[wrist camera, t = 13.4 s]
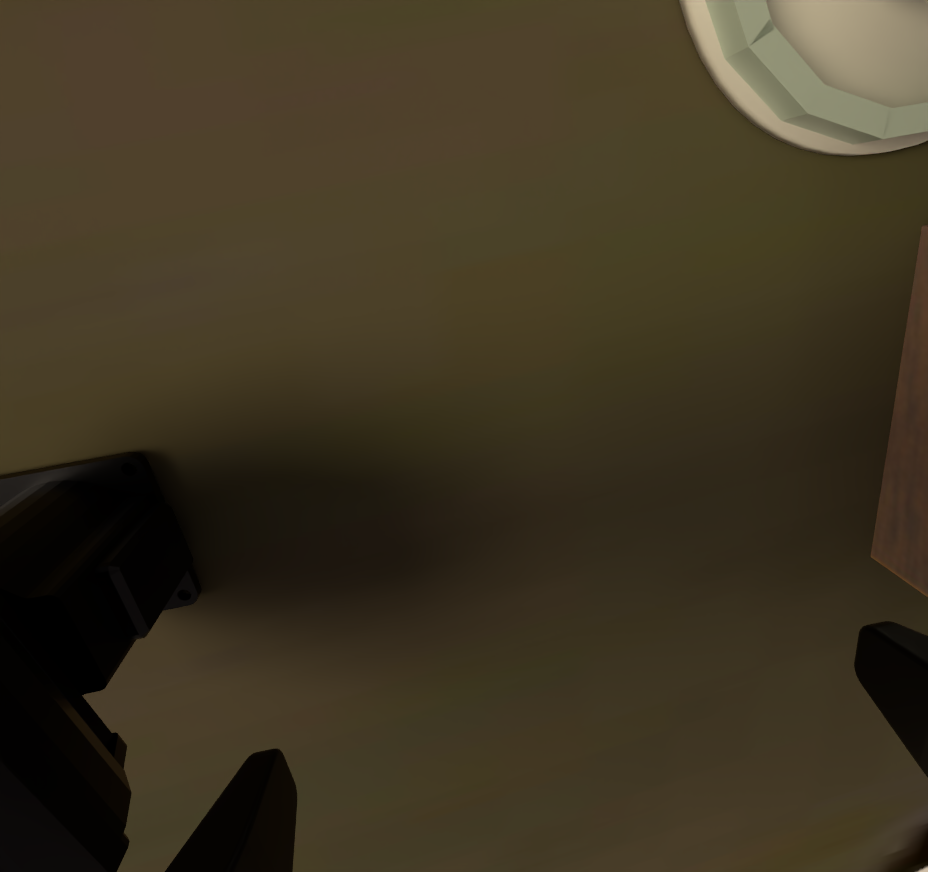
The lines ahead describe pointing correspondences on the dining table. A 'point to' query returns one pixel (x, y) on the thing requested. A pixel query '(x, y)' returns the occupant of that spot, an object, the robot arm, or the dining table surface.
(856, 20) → the round tray
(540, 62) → the dining table surface
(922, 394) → the tissue box cover
